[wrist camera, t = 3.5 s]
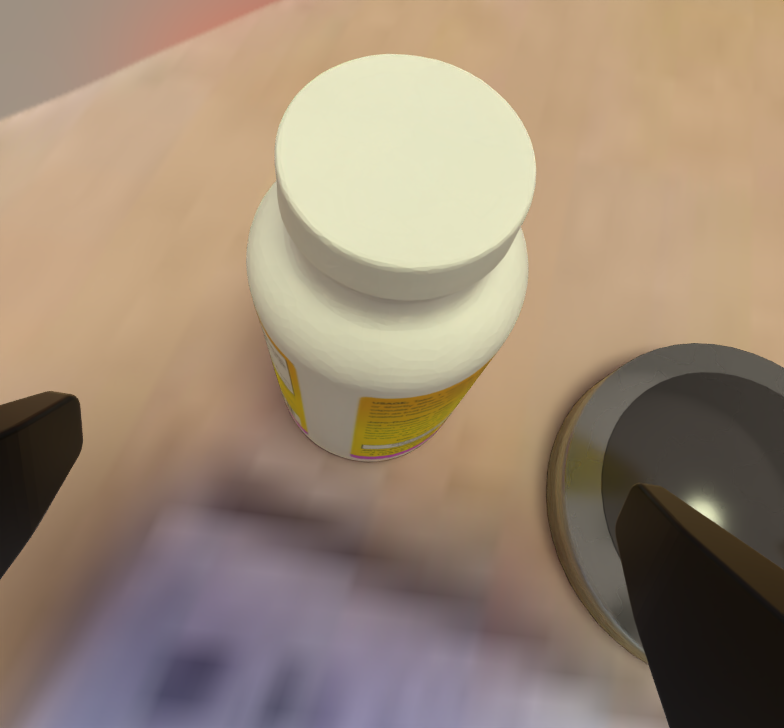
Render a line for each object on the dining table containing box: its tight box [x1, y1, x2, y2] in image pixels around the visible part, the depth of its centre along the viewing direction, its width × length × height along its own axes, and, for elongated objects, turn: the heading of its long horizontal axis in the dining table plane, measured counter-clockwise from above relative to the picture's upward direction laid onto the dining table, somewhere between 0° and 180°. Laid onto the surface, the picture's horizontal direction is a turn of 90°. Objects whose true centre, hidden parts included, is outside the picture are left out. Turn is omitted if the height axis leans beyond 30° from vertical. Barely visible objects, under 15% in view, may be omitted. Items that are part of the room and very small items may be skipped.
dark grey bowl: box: [546, 343, 784, 664], centre depth 20 cm, size 12×12×2 cm
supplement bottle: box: [246, 54, 536, 462], centre depth 16 cm, size 7×7×13 cm
